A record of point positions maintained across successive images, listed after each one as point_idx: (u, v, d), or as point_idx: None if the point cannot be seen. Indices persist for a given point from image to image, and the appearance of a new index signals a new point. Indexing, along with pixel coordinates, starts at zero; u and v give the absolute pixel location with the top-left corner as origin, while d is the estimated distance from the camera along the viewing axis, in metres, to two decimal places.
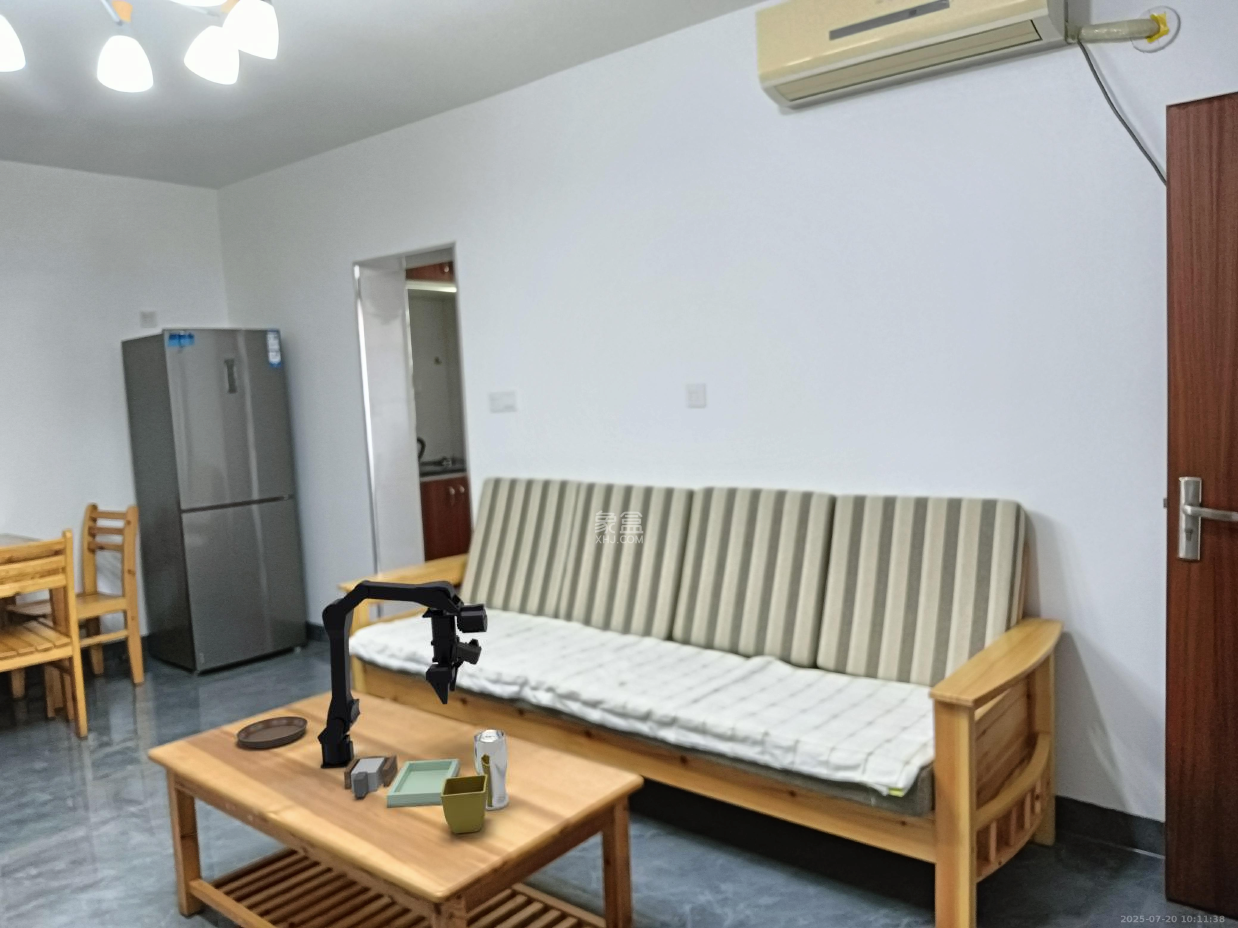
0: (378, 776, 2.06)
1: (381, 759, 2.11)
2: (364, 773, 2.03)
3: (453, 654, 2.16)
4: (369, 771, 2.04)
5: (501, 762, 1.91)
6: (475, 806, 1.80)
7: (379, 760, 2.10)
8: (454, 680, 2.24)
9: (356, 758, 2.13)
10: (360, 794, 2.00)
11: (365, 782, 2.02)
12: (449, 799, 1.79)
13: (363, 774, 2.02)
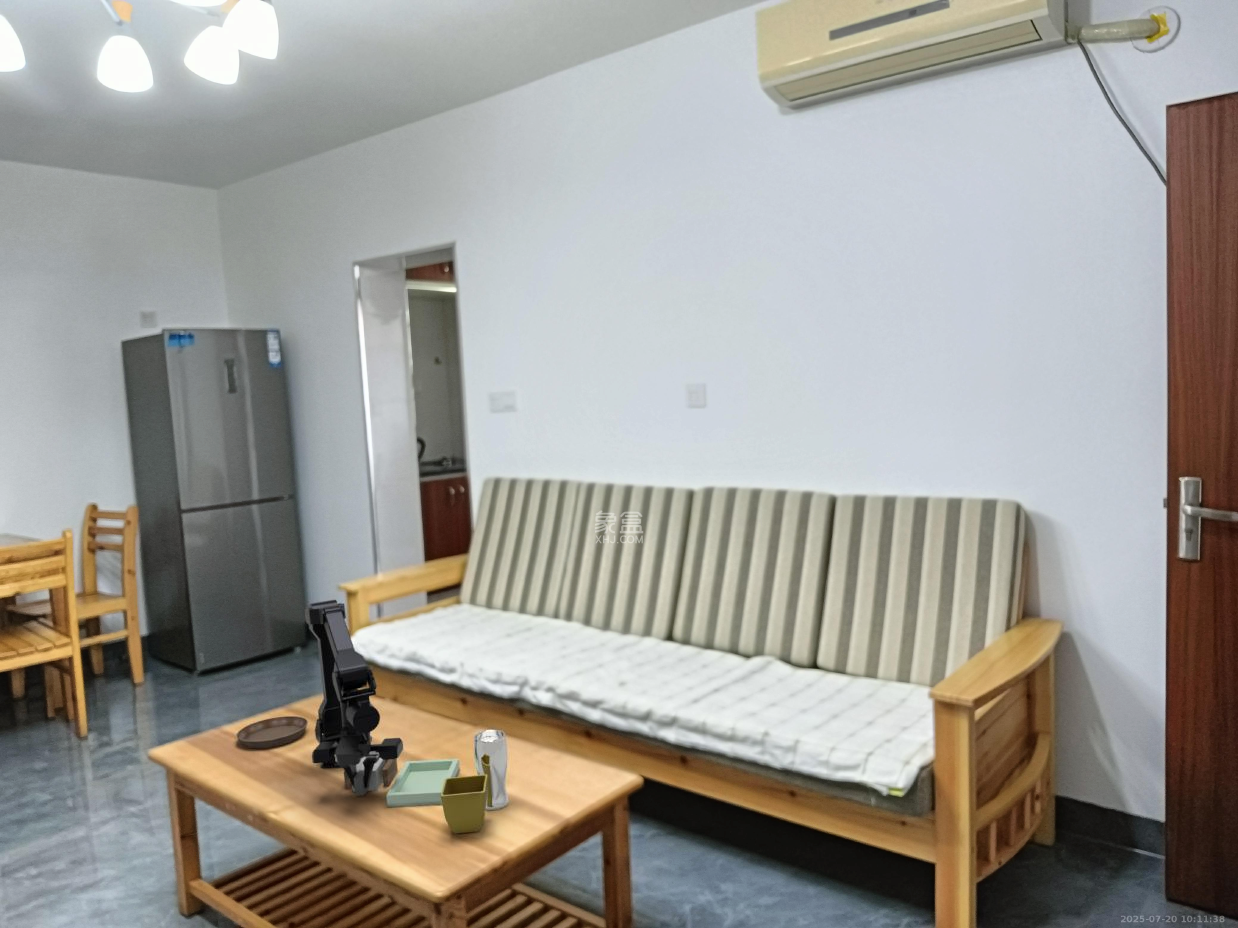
0: (378, 775, 2.06)
1: None
2: None
3: None
4: None
5: (501, 762, 1.91)
6: (475, 806, 1.80)
7: (379, 759, 2.11)
8: None
9: None
10: (360, 792, 2.00)
11: None
12: (449, 799, 1.79)
13: (363, 772, 2.03)
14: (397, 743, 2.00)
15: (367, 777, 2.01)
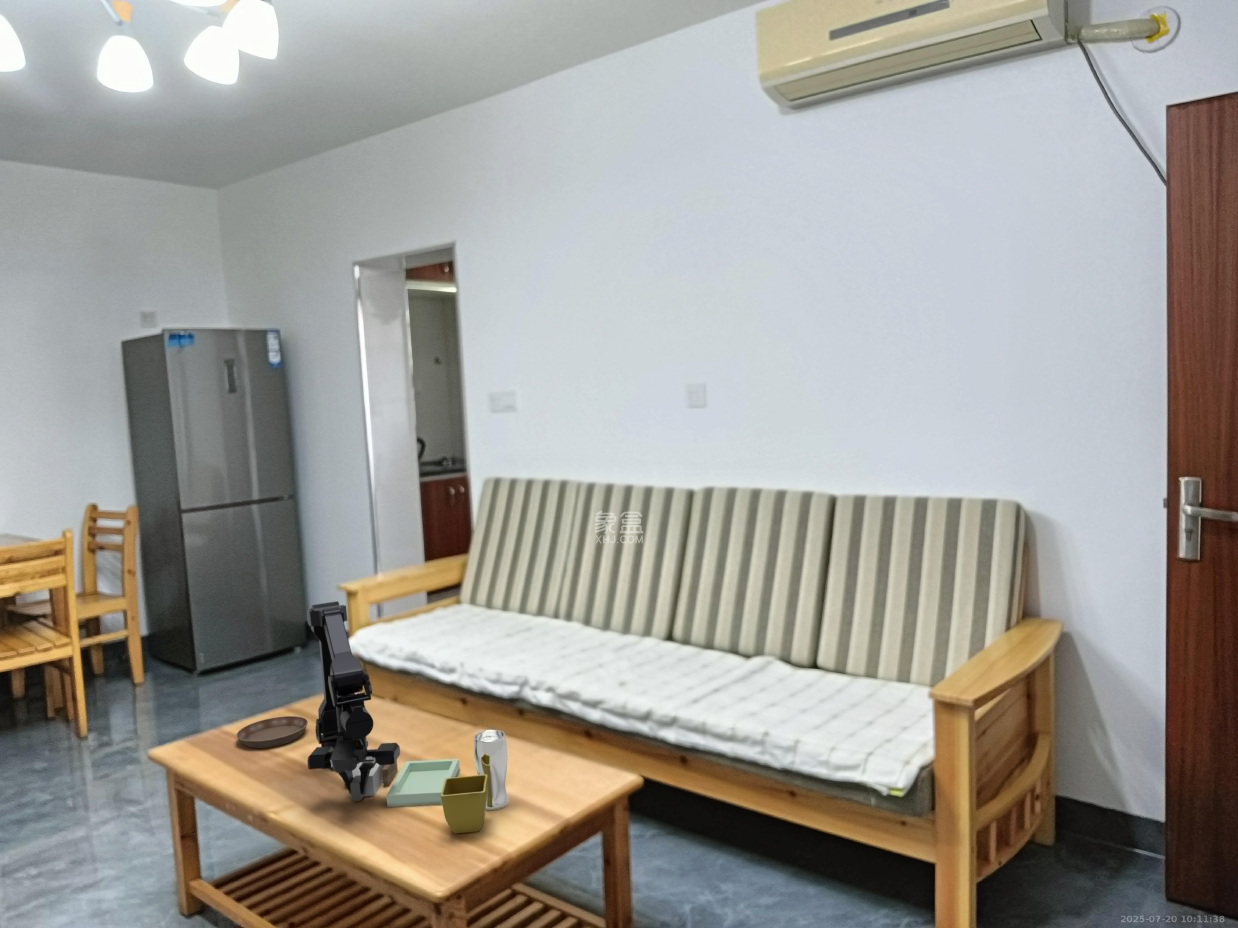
0: (375, 780, 2.03)
1: None
2: None
3: None
4: None
5: (501, 762, 1.91)
6: (475, 806, 1.80)
7: (376, 763, 2.08)
8: None
9: None
10: (357, 798, 1.98)
11: None
12: (449, 799, 1.79)
13: None
14: (394, 748, 1.97)
15: (363, 783, 1.97)
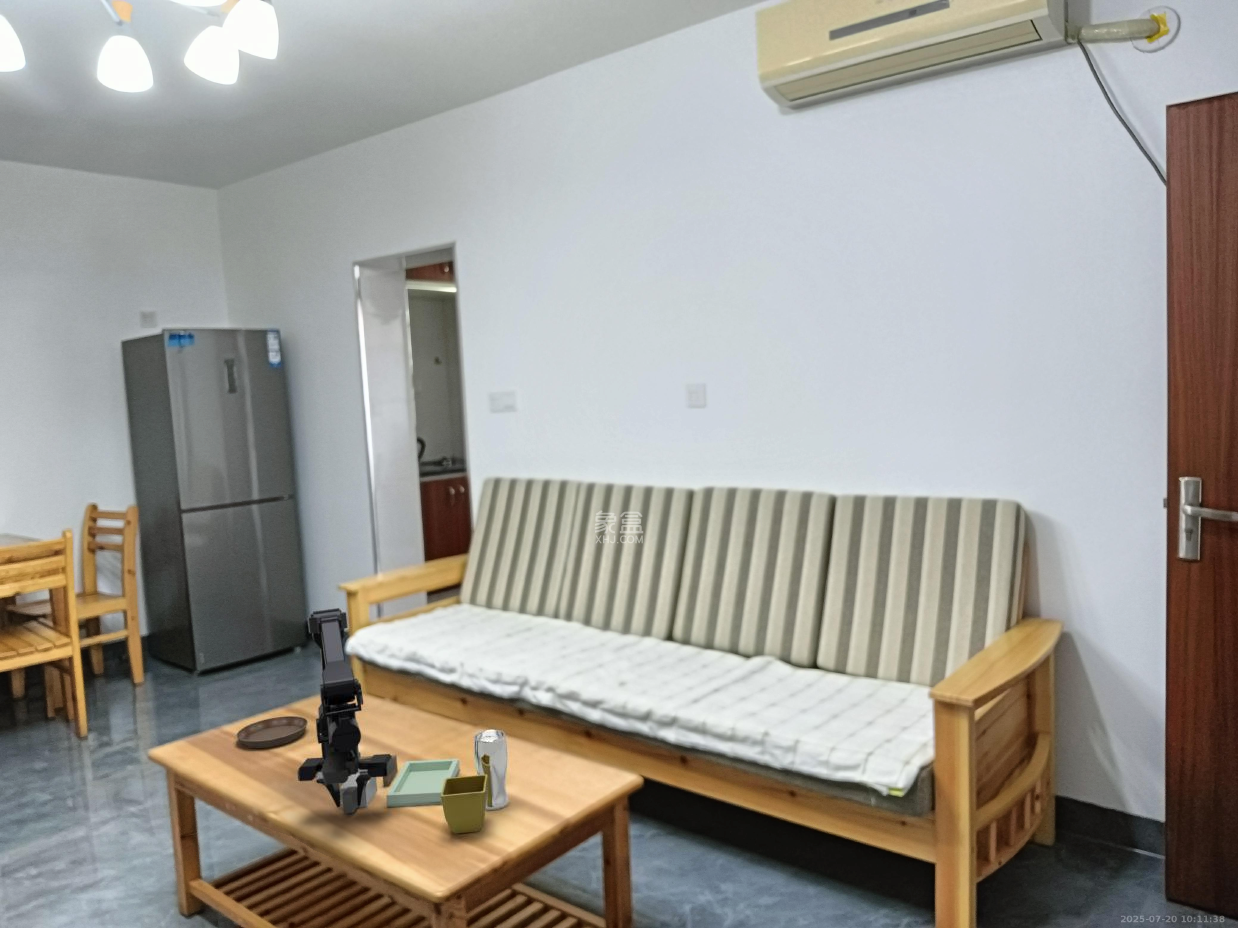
0: (368, 791, 1.98)
1: None
2: (354, 788, 1.95)
3: None
4: None
5: (501, 762, 1.91)
6: (475, 806, 1.80)
7: None
8: None
9: None
10: (349, 810, 1.92)
11: (355, 798, 1.94)
12: (449, 799, 1.79)
13: (352, 789, 1.94)
14: (387, 760, 1.91)
15: (360, 795, 1.92)
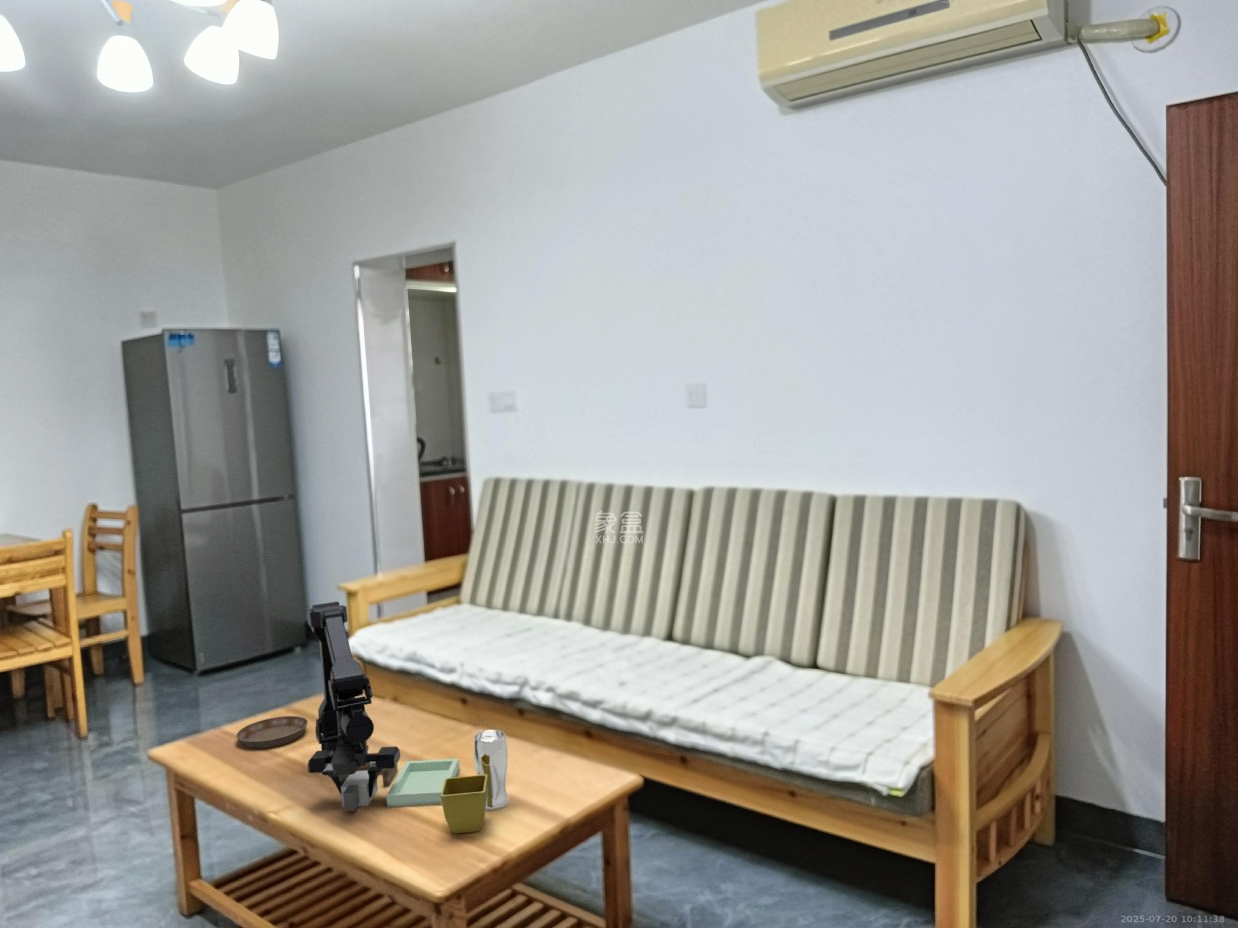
0: None
1: None
2: (355, 786, 1.95)
3: None
4: (360, 784, 1.97)
5: (501, 762, 1.91)
6: (475, 806, 1.80)
7: None
8: None
9: None
10: (350, 808, 1.93)
11: (356, 796, 1.95)
12: (449, 799, 1.79)
13: (354, 787, 1.95)
14: (394, 752, 1.97)
15: (372, 786, 1.98)
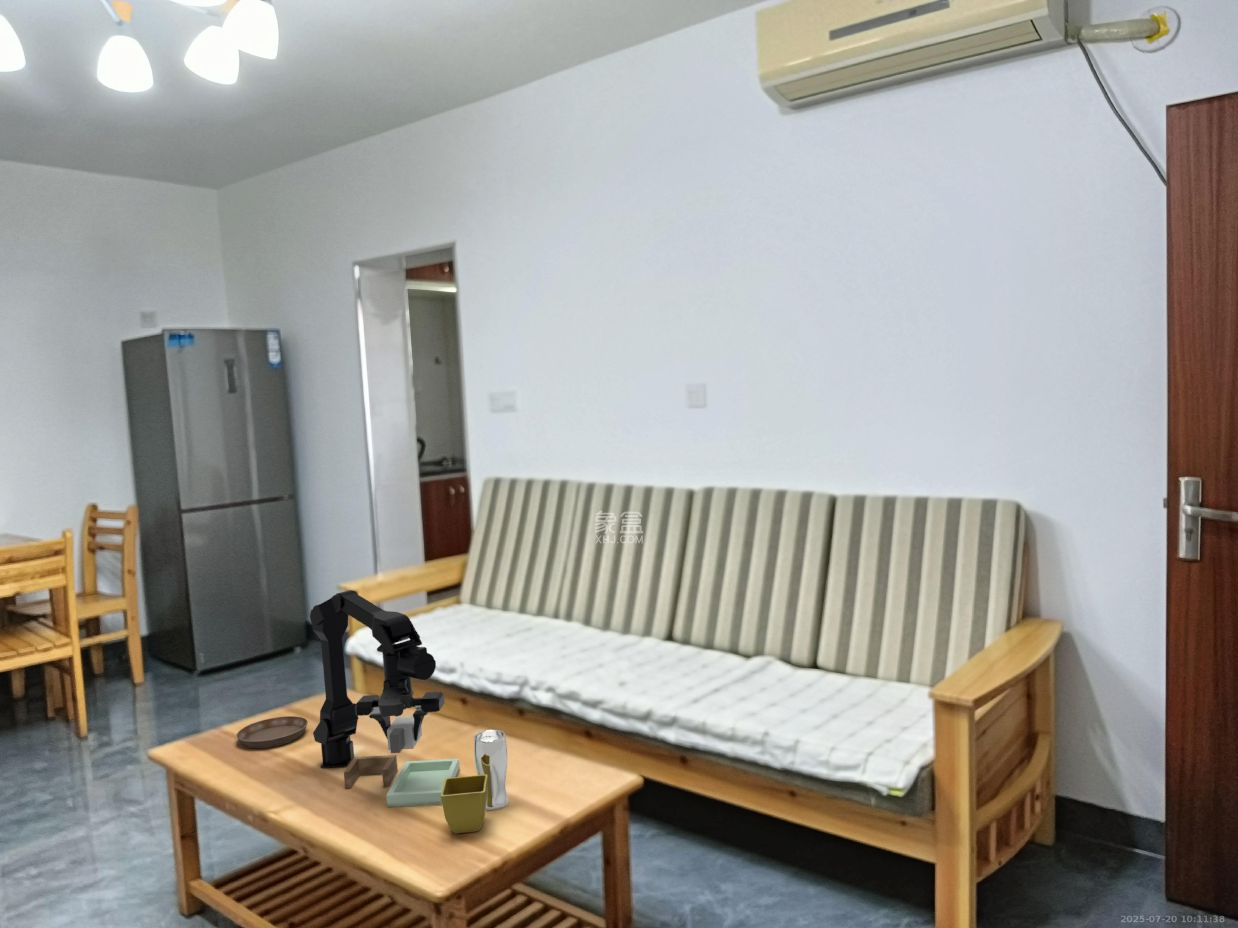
0: None
1: None
2: (400, 729, 1.99)
3: None
4: (405, 727, 2.01)
5: (501, 762, 1.91)
6: (475, 806, 1.80)
7: None
8: None
9: (356, 758, 2.13)
10: (396, 750, 1.97)
11: (401, 739, 1.99)
12: (449, 799, 1.79)
13: (399, 730, 1.99)
14: (439, 696, 2.01)
15: (417, 730, 2.02)
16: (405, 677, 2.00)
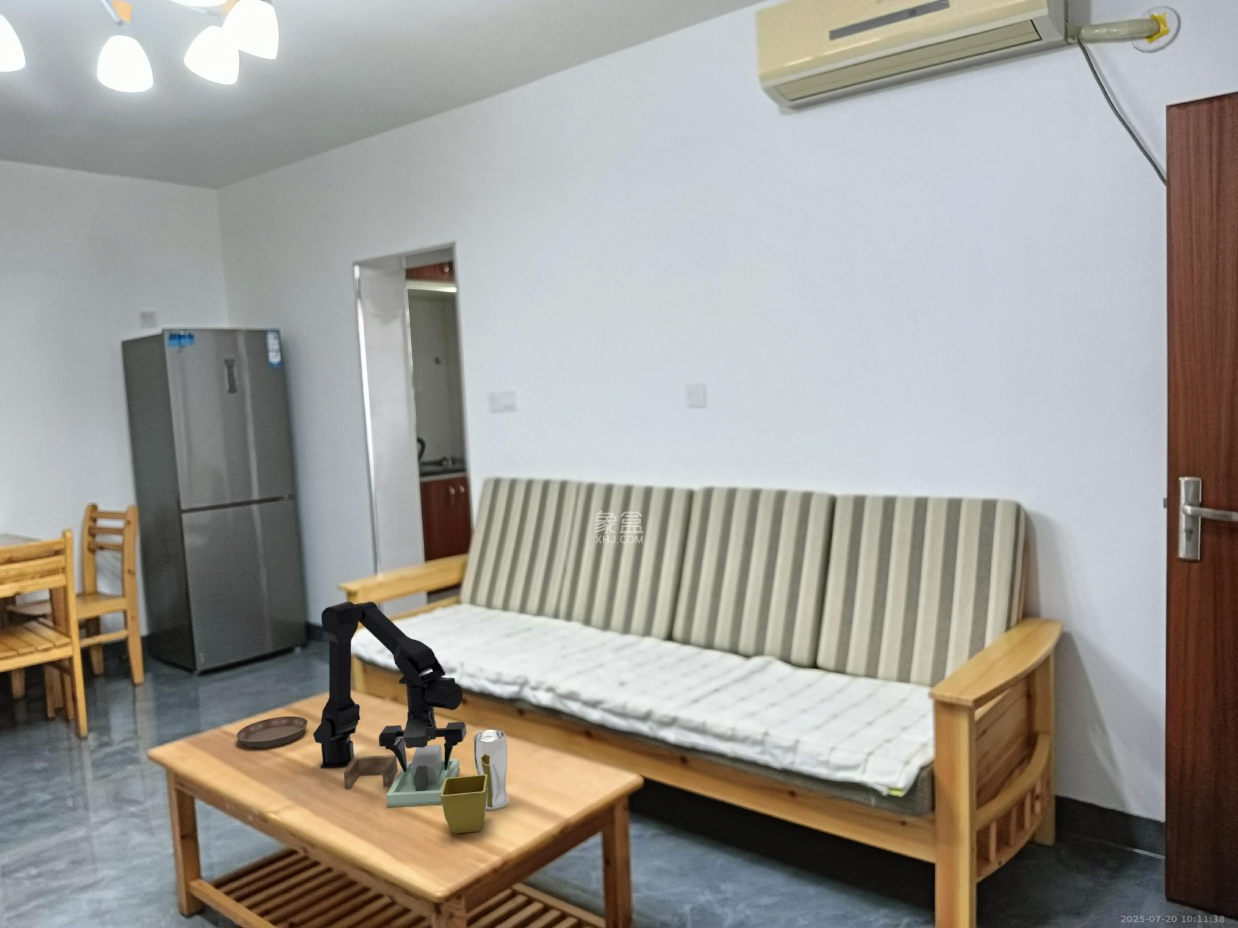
0: (436, 768, 2.05)
1: (437, 747, 2.10)
2: (423, 768, 2.02)
3: None
4: (428, 764, 2.04)
5: (501, 762, 1.91)
6: (475, 806, 1.80)
7: (436, 748, 2.09)
8: (444, 759, 2.05)
9: (356, 758, 2.13)
10: (421, 790, 2.00)
11: (425, 777, 2.02)
12: (449, 799, 1.79)
13: (423, 770, 2.01)
14: (461, 727, 2.05)
15: (447, 759, 2.05)
16: (429, 708, 2.03)
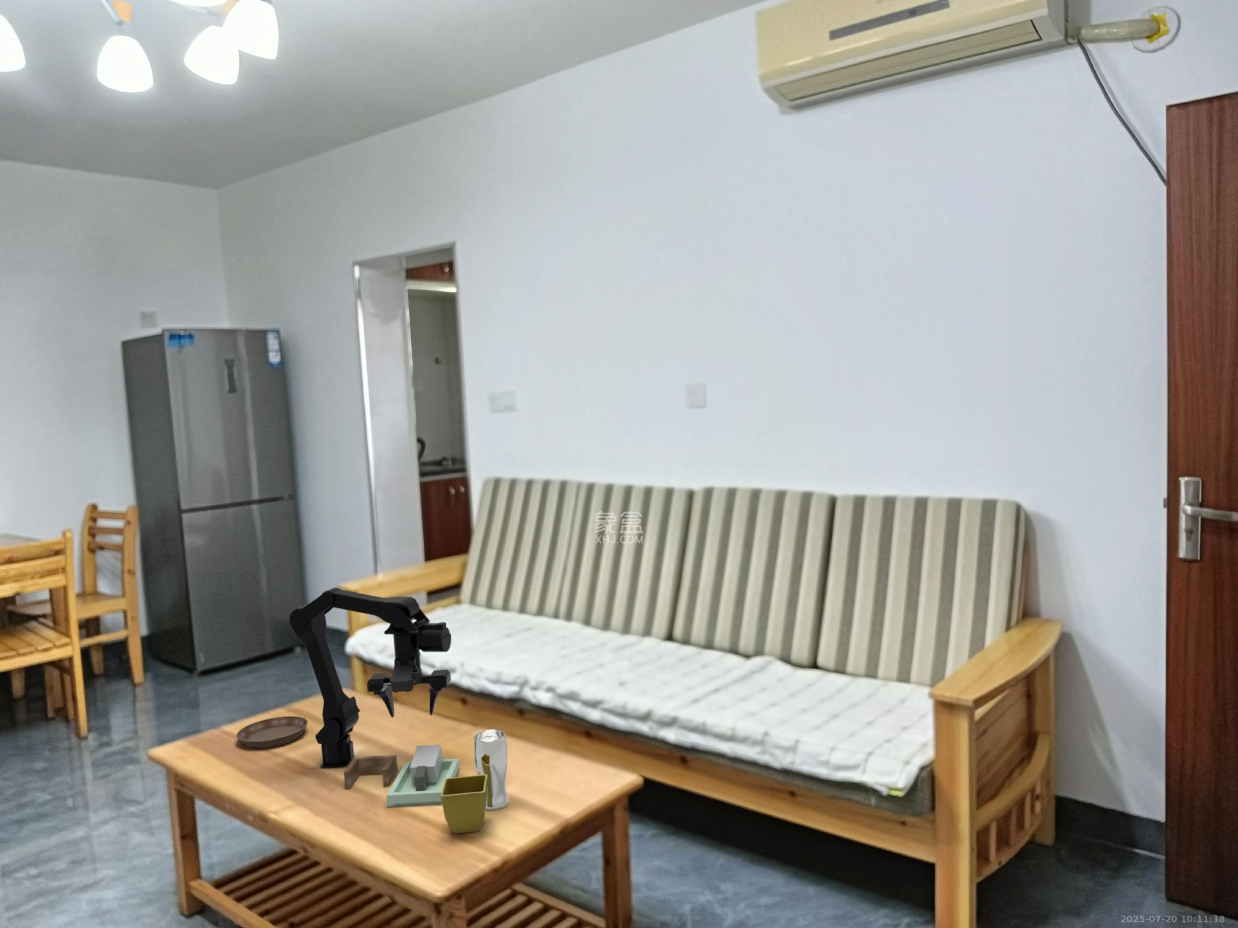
0: (436, 768, 2.05)
1: (437, 747, 2.10)
2: (423, 768, 2.02)
3: None
4: (428, 764, 2.04)
5: (501, 762, 1.91)
6: (475, 806, 1.80)
7: (436, 748, 2.09)
8: None
9: (356, 758, 2.13)
10: (421, 790, 2.00)
11: (425, 777, 2.02)
12: (449, 799, 1.79)
13: (423, 770, 2.01)
14: (446, 674, 2.15)
15: (432, 705, 2.15)
16: (414, 656, 2.13)
